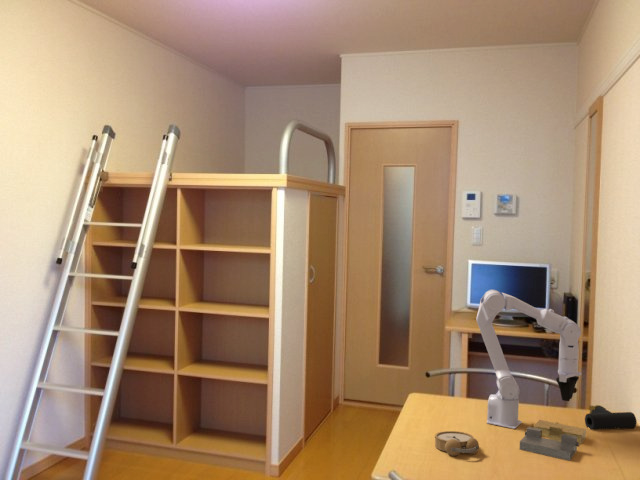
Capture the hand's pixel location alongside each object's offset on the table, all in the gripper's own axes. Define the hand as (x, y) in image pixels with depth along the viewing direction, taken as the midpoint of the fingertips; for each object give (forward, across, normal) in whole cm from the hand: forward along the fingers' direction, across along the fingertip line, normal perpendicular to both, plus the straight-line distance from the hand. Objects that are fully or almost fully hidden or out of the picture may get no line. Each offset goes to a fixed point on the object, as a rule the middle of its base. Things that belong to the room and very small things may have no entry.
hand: (566, 399), depth 199 cm
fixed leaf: (+9, -23, 0) cm, 25 cm away
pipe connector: (+10, +12, -10) cm, 18 cm away
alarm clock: (+10, -38, +22) cm, 45 cm away
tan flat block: (+9, -10, 0) cm, 14 cm away
